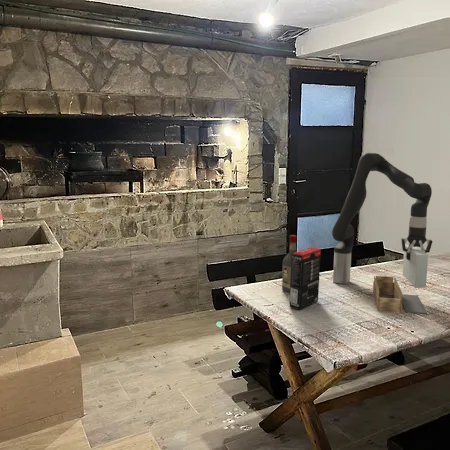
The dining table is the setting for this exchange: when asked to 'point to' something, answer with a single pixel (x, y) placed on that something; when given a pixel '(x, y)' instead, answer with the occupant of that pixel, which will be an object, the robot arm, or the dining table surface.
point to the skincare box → (416, 267)
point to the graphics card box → (304, 278)
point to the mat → (413, 304)
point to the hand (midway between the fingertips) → (415, 260)
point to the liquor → (288, 265)
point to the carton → (391, 288)
